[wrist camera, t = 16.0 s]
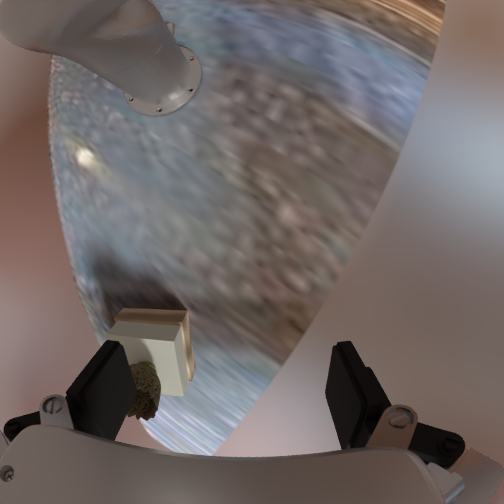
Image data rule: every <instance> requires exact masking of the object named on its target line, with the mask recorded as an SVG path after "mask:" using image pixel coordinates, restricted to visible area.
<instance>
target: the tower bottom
mask: <svg viewBox="0 0 504 504" xmlns="http://www.w3.org/2000/svg"><path fill="white" fill-rule="evenodd" d="M114 321H115V324H116V322H117V321H127V322H138V323H149V324H161V325H176V326H181V329H182V336H183V344H184V351H185V358H186V364H187V371H188V377H189V381H192V378H193V375H194V371H195V368H196V366H195V360H194V353H193V347H192V340H191V333H190V325H189V317H188V310H160V309H139V308H123V309H122V310H121V311H120V312H119V313H118V314H117V315H116V316H115V317H114Z"/></svg>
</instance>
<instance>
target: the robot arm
mask: <svg viewBox="0 0 504 504" xmlns="http://www.w3.org/2000/svg"><path fill="white" fill-rule="evenodd" d="M0 31H1V33H2V34H3V36H4V37H5V38H6V39H7V40H8V41H10V42H11V43H13V44H14V45H16V46H18V47H21V48H24V49H27V50H30V51H35V52H39V53H46V54H52V55H57V56H61V57H64V58H67V59H70V60H72V61H74V62H77V63H78V64H80V65H82V66H84V67H86V68H88V69H89V70H91V71H93V72H94V73H96V74H97V75H99V76H101V77H102V78H104V79H105V80H107V81H109V82H110V83H112V84H114V85H115V86H117V87H118V88H120V89H121V90H123V91H124V94H125V98H126V100H127V102H128V104H129V105H130V106H131V107H132V108H133V109H134V110H135V111H137V112H139V113H141V114H143V115H147V116H154V117H156V116H164V115H167V114H171V113H173V112H175V111H177V110H179V109H180V108H182V107H183V106H185V105H186V104H187V103H188V102H189V101H190V100H191V99H192V98H193V97H194V95H195V94H196V92H197V90H198V89H199V86H200V83H201V80H202V67H201V64H200V62H199V60H198V58H197V56H196V55H195V54H194V53H193V52H192V51H190V50H189V49H187V48H185V47H182V46H179V45H178V44H177V42H176V39H175V38H174V33H175V24H174V23H165V21H164V20H163V18H162V16H161V15H160V13H159V11H158V10H157V8H156V7H155V6H154V5H153V4H152V3H151V2H150V1H148V0H2V2H1V4H0ZM191 60H192V61H191ZM190 90H193V91H191V92H190ZM132 100H133V101H132ZM160 110H162V111H161V112H160ZM136 393H137V387H136V384H135V381H134V378H133V375H132V372H131V369H130V366H129V363H128V360H127V356H126V353H125V350H124V347H123V345H122V344H120V342H119V341H114V340H107V341H106V342H105V343H104V344H103V345H102V346H101V348H100V349H99V350H98V351H97V353H96V354H95V355H94V356H93V358H92V359H91V360H90V362H89V363H88V364H87V365H86V367H85V368H84V369H83V371H82V372H81V373H80V374H79V376H78V377H77V378H76V379H75V381H74V382H73V383H72V385H71V386H70V387H69V389H68V390H67V391H66V394H67V396H66V397H65V398H64V397H63V396H61V395H56V394H55V395H50V396H47V397H46V398H44V399H43V400H42V401H41V403H40V407H39V410H40V411H38V412H34V413H31V414H27V415H23V416H20V417H16V418H13V419H10V420H9V421H8V422H7V423H6V424H5V426H4V432H3V433H2V432H1V430H0V504H489V503H490V501H491V499H492V498H493V496H494V494H495V493H496V491H497V489H498V487H499V485H500V484H501V482H502V480H503V477H504V468H503V466H502V465H501V464H499V463H498V462H496V461H494V460H492V459H490V458H489V457H487V456H485V455H483V454H481V453H479V452H478V451H476V450H474V449H473V448H470V449H469V450H468V449H466V448H465V442H464V440H463V438H462V437H461V436H459V435H458V434H456V433H453V432H449V431H446V430H442V429H438V428H435V427H432V426H429V425H425V424H422V423H419V422H417V421H418V416H417V413H416V412H415V411H414V410H413V409H412V408H411V407H408V406H406V405H393V406H392V405H391V403H390V401H389V400H388V398H387V396H386V394H385V392H384V390H383V389H382V387H381V385H380V383H379V382H378V380H377V378H376V376H375V375H374V373H373V371H372V369H371V368H370V367H365V365H364V363H363V362H362V360H361V358H360V356H359V354H358V353H357V351H356V349H355V347H354V346H353V344H352V342H351V341H343V342H338V343H337V345H336V346H333V349H332V355H331V362H330V367H329V373H328V379H327V384H326V390H325V394H326V399H327V402H328V406H329V409H330V412H331V415H332V419H333V422H334V425H335V429H336V432H337V435H338V439H339V442H340V445H341V449H342V450H337V451H330V452H323V453H313V454H303V455H291V456H277V457H221V456H205V455H193V454H184V453H176V452H169V451H162V450H156V449H150V448H145V447H139V446H135V445H130V444H126V443H122V442H117V441H115V438H116V436H117V434H118V432H119V430H120V428H121V425H122V423H123V421H124V419H125V417H126V415H127V413H128V410H129V408H130V406H131V404H132V402H133V400H134V398H135V396H136ZM441 492H442V493H443V494H445V497H446V502H445V500H444V498H443V495H442V493H441Z"/></svg>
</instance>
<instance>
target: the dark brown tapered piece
mask: <svg viewBox="0 0 504 504" xmlns="http://www.w3.org/2000/svg"><path fill="white" fill-rule="evenodd" d="M129 366H130V369H131V372H132V375H133V378H134V381H135V384H136V387H137V393H136V396H135V398H134V400H133V402H132V404H131V406H130V408H129V410H128V413H127V415H128V417H131V416H134V415H135V414H136V418H137V419H140V417H142V418H143V419H145V420H146V421H147V420H149V419H150V418H151V417H152V418H154V417H155V413H156V411H157V410H158V405H159V400H160V394H161V383H160V380H159V377H158V376H157V370H156V368H155V367H154V366H153V365H152V364H151V363H149V362H146V361H141V362H138V363H137V364H131V365H129Z"/></svg>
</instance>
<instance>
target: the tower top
mask: <svg viewBox="0 0 504 504" xmlns="http://www.w3.org/2000/svg"><path fill="white" fill-rule="evenodd" d="M107 338H108V340H114V341H119V342H120V344H122V345H123V347H124V350H125V353H126V356H127V360H128V363H129V365H131V364H137V363H138V362H141V361H146V362H149V363H151V364H152V365H153V366H154V367H155V368H156V370H157V376H158V377H159V380H160V383H161V394H166V395H174V396H183V397H184V395H185V391H186V388H187V384H188V381H189V377H188V371H187V364H186V358H185V351H184V344H183V336H182V329H181V326H176V325H161V324H149V323H138V322H127V321H117V322H116V324H115V325H114V326H113V327H112V328H111V329H110V331H109V332H108V333H107Z"/></svg>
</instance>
